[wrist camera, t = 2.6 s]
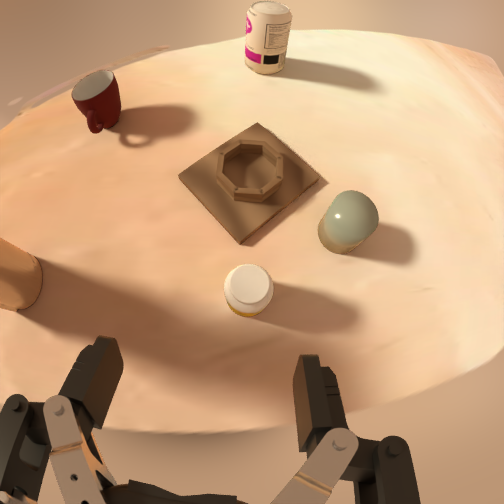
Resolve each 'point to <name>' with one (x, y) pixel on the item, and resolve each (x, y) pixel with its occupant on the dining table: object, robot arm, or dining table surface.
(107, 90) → the mug
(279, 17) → the supplement can
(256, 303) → the supplement bottle
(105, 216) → the dining table surface
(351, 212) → the sage green domed cylinder
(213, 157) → the caddy
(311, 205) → the dining table surface
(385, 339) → the dining table surface
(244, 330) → the dining table surface
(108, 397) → the robot arm
